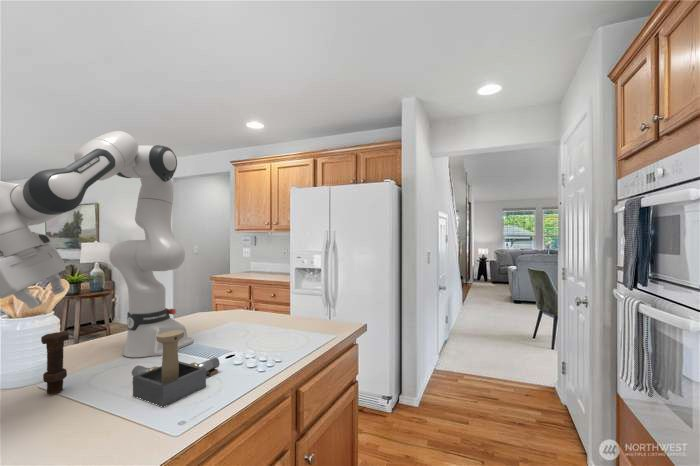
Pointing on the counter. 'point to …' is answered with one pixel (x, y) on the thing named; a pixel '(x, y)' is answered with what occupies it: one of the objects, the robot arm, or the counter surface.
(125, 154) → the robot arm
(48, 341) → the bolt
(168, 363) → the handle
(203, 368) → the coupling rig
